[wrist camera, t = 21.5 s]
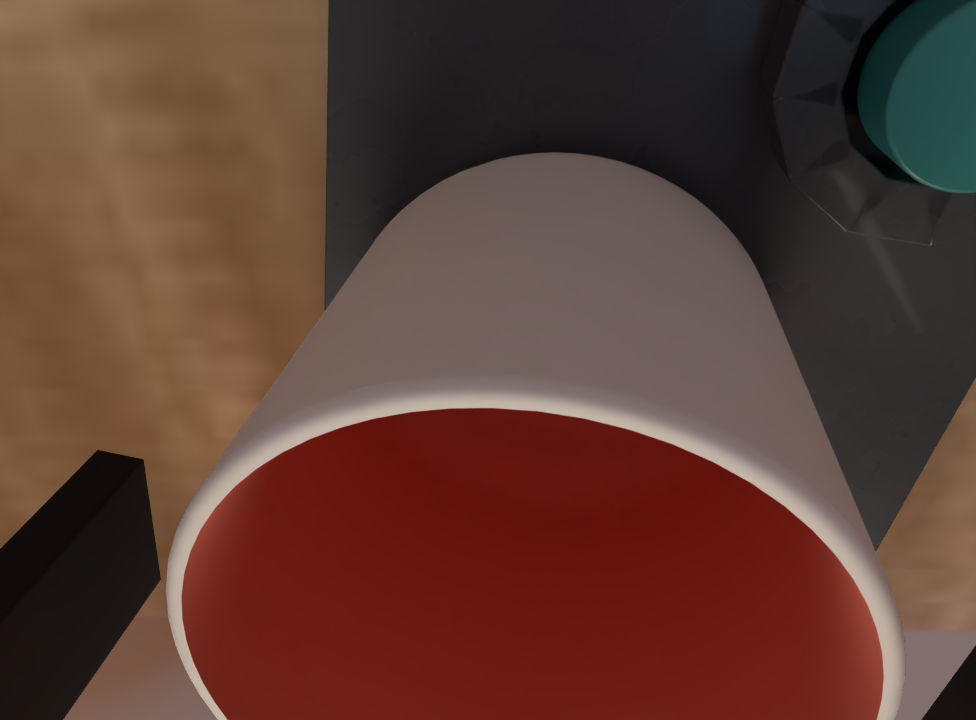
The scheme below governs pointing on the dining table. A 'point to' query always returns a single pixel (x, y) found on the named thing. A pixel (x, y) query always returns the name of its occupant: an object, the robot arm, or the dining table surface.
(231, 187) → the dining table surface
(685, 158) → the scale
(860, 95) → the button
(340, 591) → the cup
